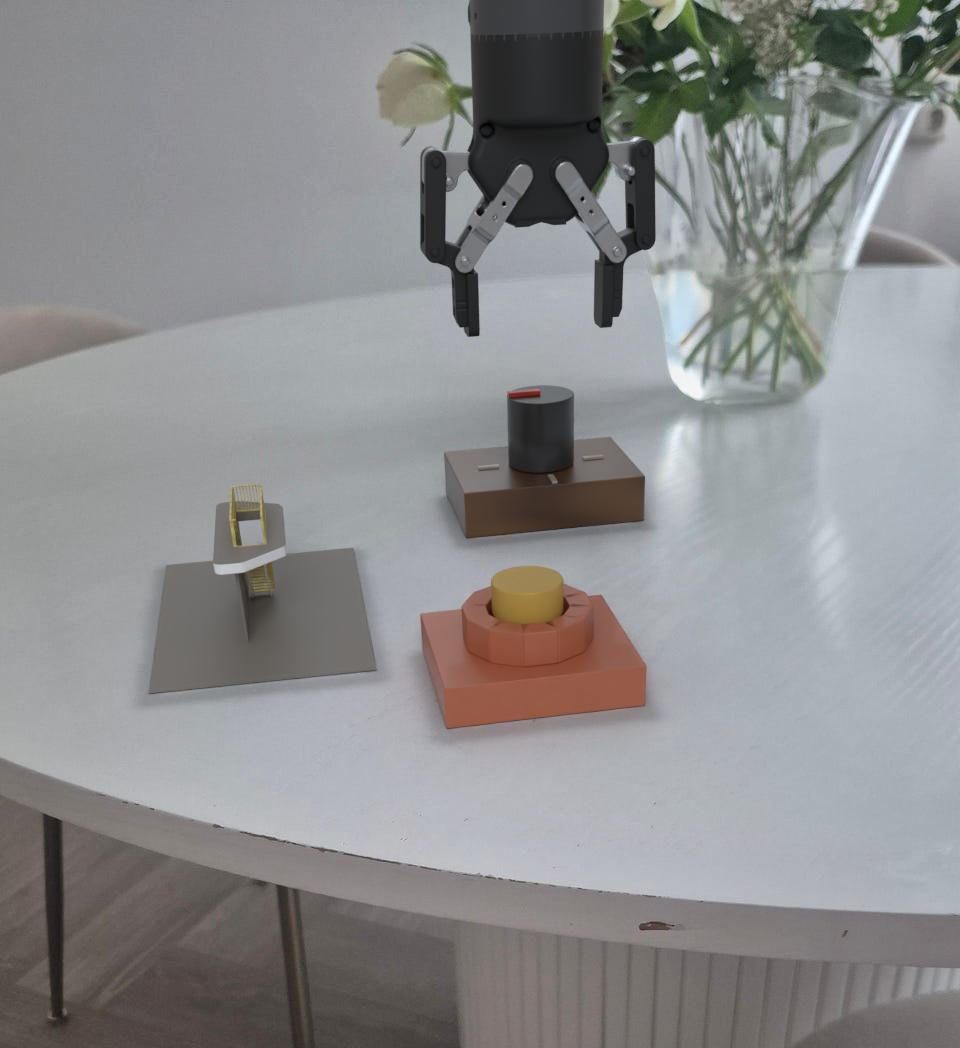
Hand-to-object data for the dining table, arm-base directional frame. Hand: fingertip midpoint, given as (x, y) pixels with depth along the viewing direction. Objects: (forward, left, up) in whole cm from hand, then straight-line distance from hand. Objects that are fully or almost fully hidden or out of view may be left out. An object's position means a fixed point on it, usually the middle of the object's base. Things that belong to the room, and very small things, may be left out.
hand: (538, 329), depth 80 cm
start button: (+6, +25, -8) cm, 27 cm away
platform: (+19, +13, -12) cm, 26 cm away
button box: (+6, +25, -12) cm, 28 cm away
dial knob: (0, 0, -9) cm, 9 cm away
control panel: (0, 0, -12) cm, 12 cm away
